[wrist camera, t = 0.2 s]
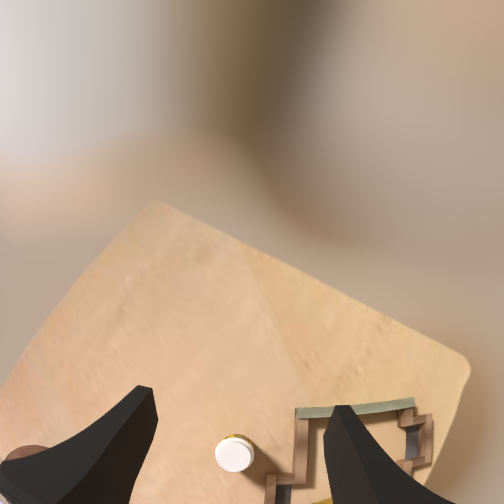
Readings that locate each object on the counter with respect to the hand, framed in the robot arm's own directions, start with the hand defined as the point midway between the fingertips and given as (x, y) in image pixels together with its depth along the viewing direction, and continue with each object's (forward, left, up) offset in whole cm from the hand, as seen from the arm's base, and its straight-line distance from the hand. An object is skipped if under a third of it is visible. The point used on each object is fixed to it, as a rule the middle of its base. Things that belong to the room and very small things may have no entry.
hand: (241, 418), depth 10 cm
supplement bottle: (-6, +1, -32) cm, 32 cm away
